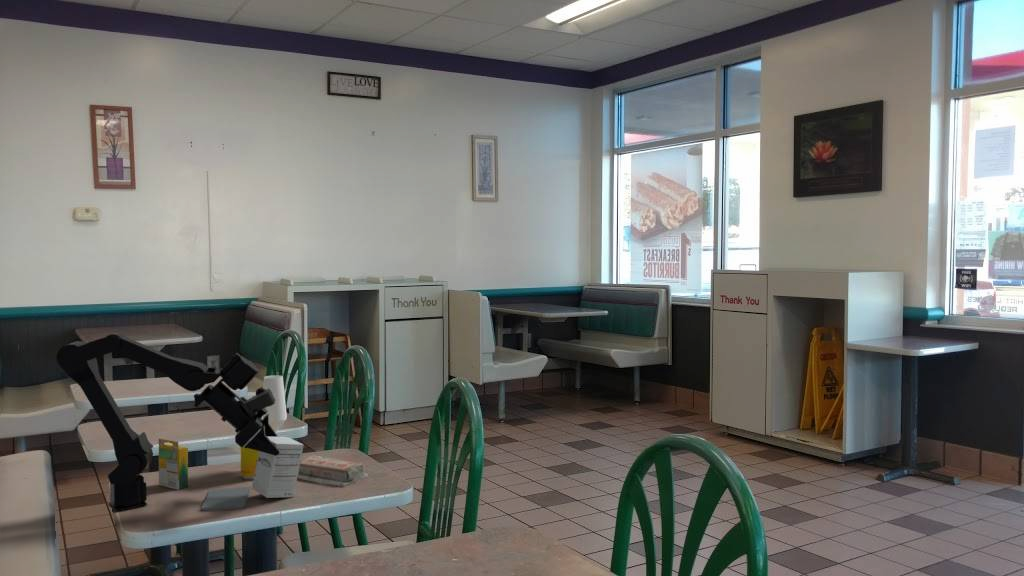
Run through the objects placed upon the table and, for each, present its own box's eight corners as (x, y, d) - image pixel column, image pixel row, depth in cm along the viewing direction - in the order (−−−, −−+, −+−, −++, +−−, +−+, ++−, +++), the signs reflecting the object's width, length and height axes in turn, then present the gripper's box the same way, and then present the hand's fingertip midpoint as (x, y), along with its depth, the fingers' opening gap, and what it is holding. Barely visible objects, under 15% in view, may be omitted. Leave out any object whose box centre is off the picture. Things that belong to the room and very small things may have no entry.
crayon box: (189, 487, 192) (188, 439, 191) (178, 490, 189) (177, 442, 188) (169, 482, 195) (168, 435, 195) (158, 485, 193) (157, 438, 192)
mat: (201, 510, 174) (201, 508, 174) (210, 491, 188) (210, 489, 188) (244, 508, 176) (243, 505, 176) (250, 489, 190) (250, 487, 190)
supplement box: (250, 489, 184) (260, 435, 185) (279, 488, 190) (289, 436, 190) (265, 498, 179) (275, 443, 180) (294, 497, 184) (304, 443, 185)
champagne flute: (285, 462, 214) (284, 374, 213) (289, 468, 208) (288, 378, 207) (259, 464, 211) (258, 375, 210) (262, 471, 205) (261, 379, 204)
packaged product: (369, 460, 201) (344, 469, 192) (369, 478, 201) (344, 489, 192) (314, 451, 209) (287, 460, 200) (314, 469, 209) (287, 479, 200)
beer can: (261, 480, 198) (261, 420, 197) (237, 479, 198) (236, 420, 197) (269, 473, 204) (269, 415, 203) (245, 473, 204) (245, 415, 203)
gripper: (249, 385, 173) (302, 432, 176) (256, 372, 191) (305, 415, 194) (212, 423, 172) (266, 469, 175) (223, 406, 190) (272, 448, 193)
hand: (279, 448), depth 184 cm, fingers closed on supplement box, 9 cm apart
